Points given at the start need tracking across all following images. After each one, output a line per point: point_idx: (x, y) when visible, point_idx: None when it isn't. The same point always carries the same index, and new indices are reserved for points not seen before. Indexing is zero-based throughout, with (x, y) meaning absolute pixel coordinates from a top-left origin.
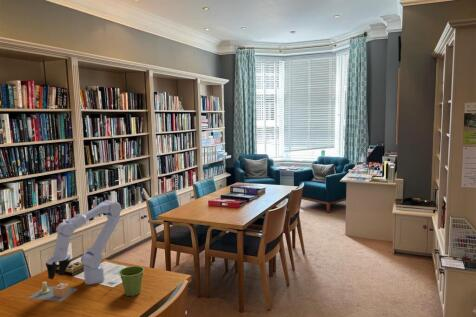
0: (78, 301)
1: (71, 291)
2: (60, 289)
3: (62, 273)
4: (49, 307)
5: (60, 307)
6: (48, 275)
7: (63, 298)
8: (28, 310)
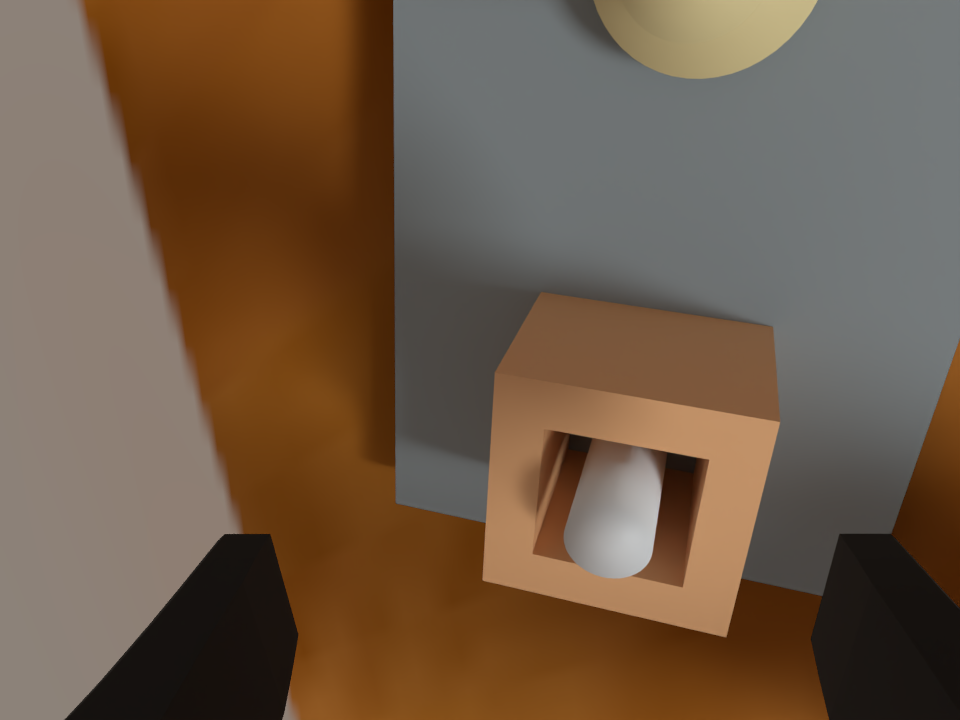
0: (529, 658)
1: (754, 531)
2: (488, 536)
3: (834, 695)
4: (308, 345)
5: (343, 497)
6: (167, 616)
7: (485, 502)
8: (147, 43)
